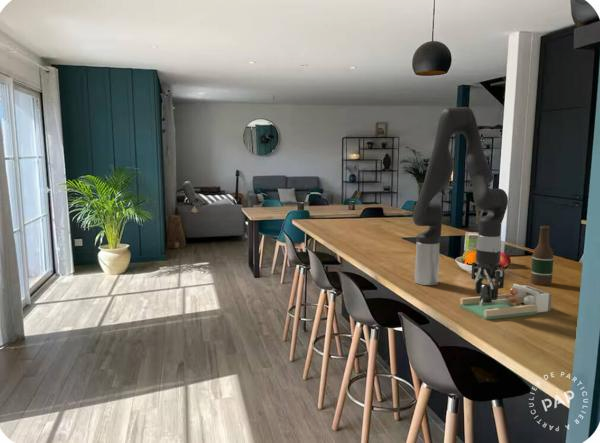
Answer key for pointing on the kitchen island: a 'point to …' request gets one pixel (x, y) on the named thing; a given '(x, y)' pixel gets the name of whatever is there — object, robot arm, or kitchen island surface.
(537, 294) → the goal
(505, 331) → the kitchen island surface
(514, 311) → the pitch
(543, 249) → the beer bottle
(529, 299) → the ball
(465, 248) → the tea box
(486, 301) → the striker
